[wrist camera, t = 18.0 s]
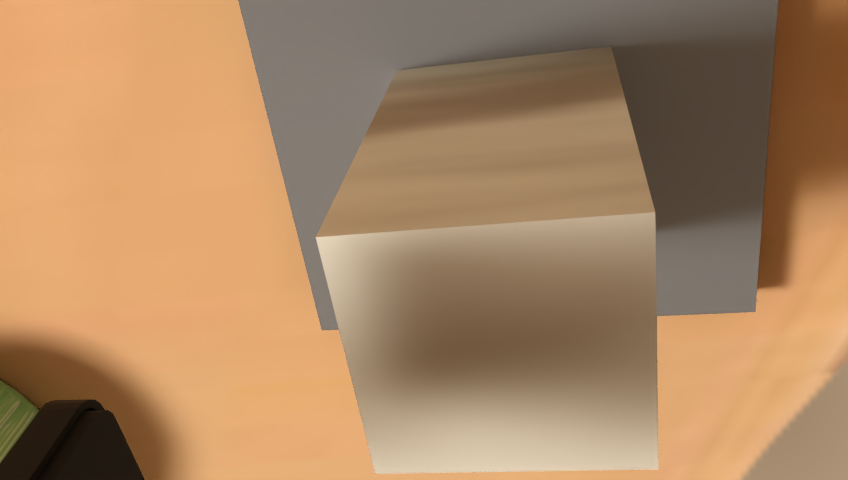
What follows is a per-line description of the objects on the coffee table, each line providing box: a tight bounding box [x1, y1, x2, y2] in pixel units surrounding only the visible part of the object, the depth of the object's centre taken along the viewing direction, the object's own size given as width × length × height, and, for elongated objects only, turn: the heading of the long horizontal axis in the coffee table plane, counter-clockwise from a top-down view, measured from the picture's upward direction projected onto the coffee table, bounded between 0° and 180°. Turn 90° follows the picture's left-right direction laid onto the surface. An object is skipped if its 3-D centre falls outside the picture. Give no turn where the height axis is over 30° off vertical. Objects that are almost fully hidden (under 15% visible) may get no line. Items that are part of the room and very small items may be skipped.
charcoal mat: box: [238, 0, 778, 330], centre depth 20 cm, size 10×12×1 cm
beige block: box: [316, 46, 658, 474], centre depth 16 cm, size 5×5×8 cm
